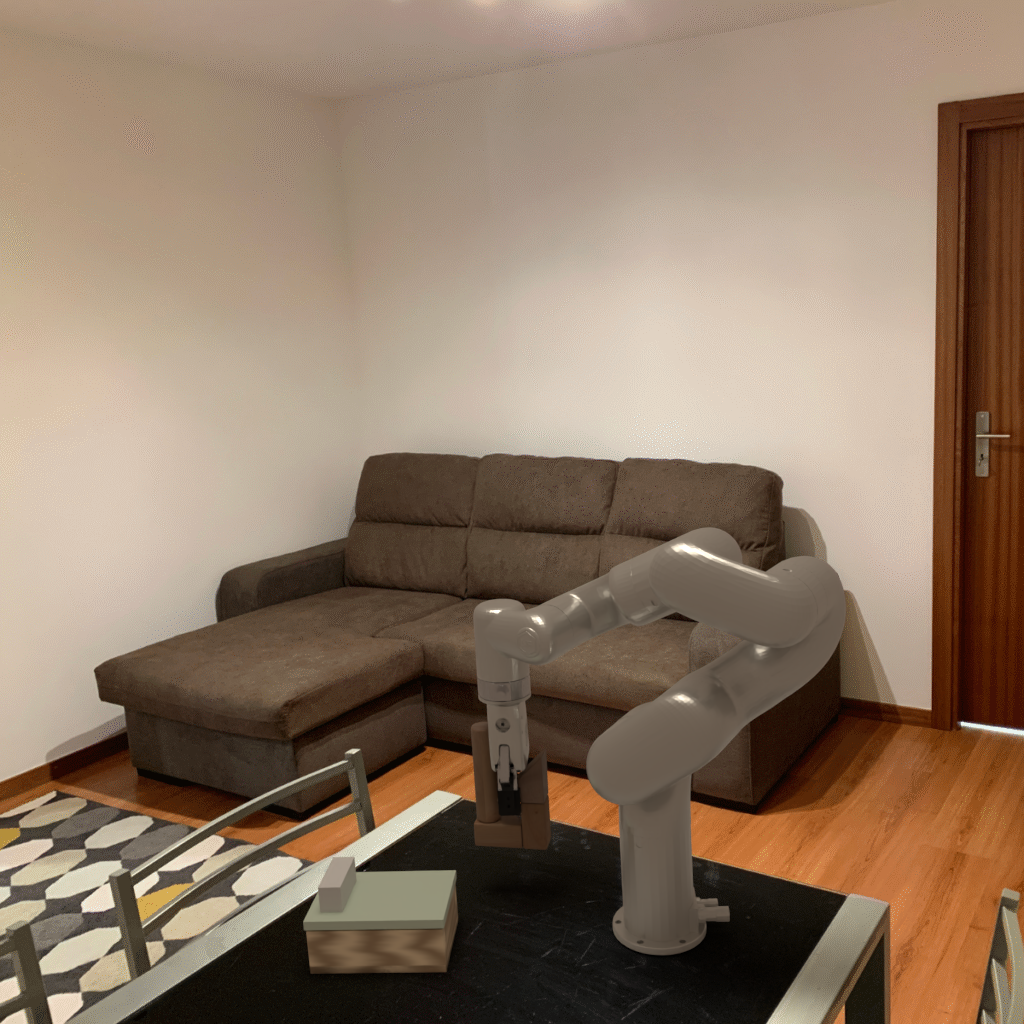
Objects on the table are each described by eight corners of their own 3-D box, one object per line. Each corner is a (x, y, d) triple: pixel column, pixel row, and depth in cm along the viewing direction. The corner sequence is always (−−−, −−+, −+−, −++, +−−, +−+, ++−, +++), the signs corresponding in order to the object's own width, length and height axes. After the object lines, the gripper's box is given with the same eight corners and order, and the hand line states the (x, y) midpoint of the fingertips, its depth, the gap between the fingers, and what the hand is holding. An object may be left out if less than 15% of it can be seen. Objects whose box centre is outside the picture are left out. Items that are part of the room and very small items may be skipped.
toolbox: (458, 920, 143) (455, 880, 142) (446, 972, 131) (442, 929, 130) (333, 922, 145) (329, 883, 144) (310, 973, 133) (306, 931, 132)
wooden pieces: (547, 851, 145) (540, 731, 142) (474, 847, 148) (466, 729, 145) (551, 838, 149) (545, 722, 146) (480, 834, 151) (473, 720, 148)
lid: (456, 878, 142) (454, 846, 142) (443, 928, 130) (441, 894, 129) (328, 880, 144) (325, 849, 143) (303, 930, 132) (300, 896, 131)
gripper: (526, 706, 136) (534, 834, 139) (533, 667, 152) (540, 781, 155) (471, 708, 136) (479, 835, 139) (484, 668, 153) (491, 782, 156)
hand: (511, 805), depth 147 cm, fingers closed on wooden pieces, 4 cm apart
